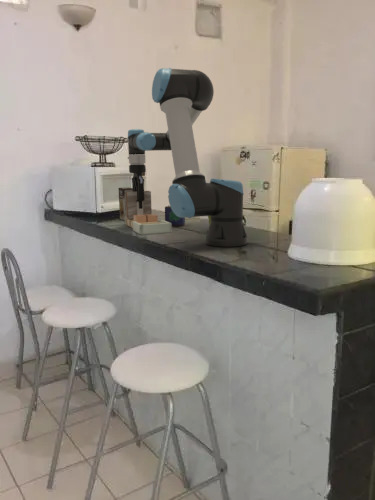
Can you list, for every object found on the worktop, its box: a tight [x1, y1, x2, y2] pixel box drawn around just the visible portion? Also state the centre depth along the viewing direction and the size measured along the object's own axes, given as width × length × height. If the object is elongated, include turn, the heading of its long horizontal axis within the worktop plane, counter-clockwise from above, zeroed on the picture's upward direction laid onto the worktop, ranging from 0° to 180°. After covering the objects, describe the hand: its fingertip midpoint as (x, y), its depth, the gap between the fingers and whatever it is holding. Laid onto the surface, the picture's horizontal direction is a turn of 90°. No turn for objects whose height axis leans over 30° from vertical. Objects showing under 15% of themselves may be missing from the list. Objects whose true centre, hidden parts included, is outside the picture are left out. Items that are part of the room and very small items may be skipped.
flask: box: [164, 204, 186, 227], centre depth 212 cm, size 9×3×11 cm, turn 87°
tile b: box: [133, 214, 146, 223], centre depth 204 cm, size 5×4×3 cm
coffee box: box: [117, 187, 133, 222], centre depth 233 cm, size 9×6×16 cm
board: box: [124, 218, 160, 229], centre depth 211 cm, size 20×11×3 cm, turn 21°
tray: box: [132, 219, 173, 236], centre depth 196 cm, size 12×14×4 cm
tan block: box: [126, 190, 153, 219], centre depth 214 cm, size 4×11×12 cm, turn 111°
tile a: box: [145, 213, 159, 222], centre depth 206 cm, size 5×4×3 cm
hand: (139, 214), depth 215 cm, fingers closed on tan block, 4 cm apart
